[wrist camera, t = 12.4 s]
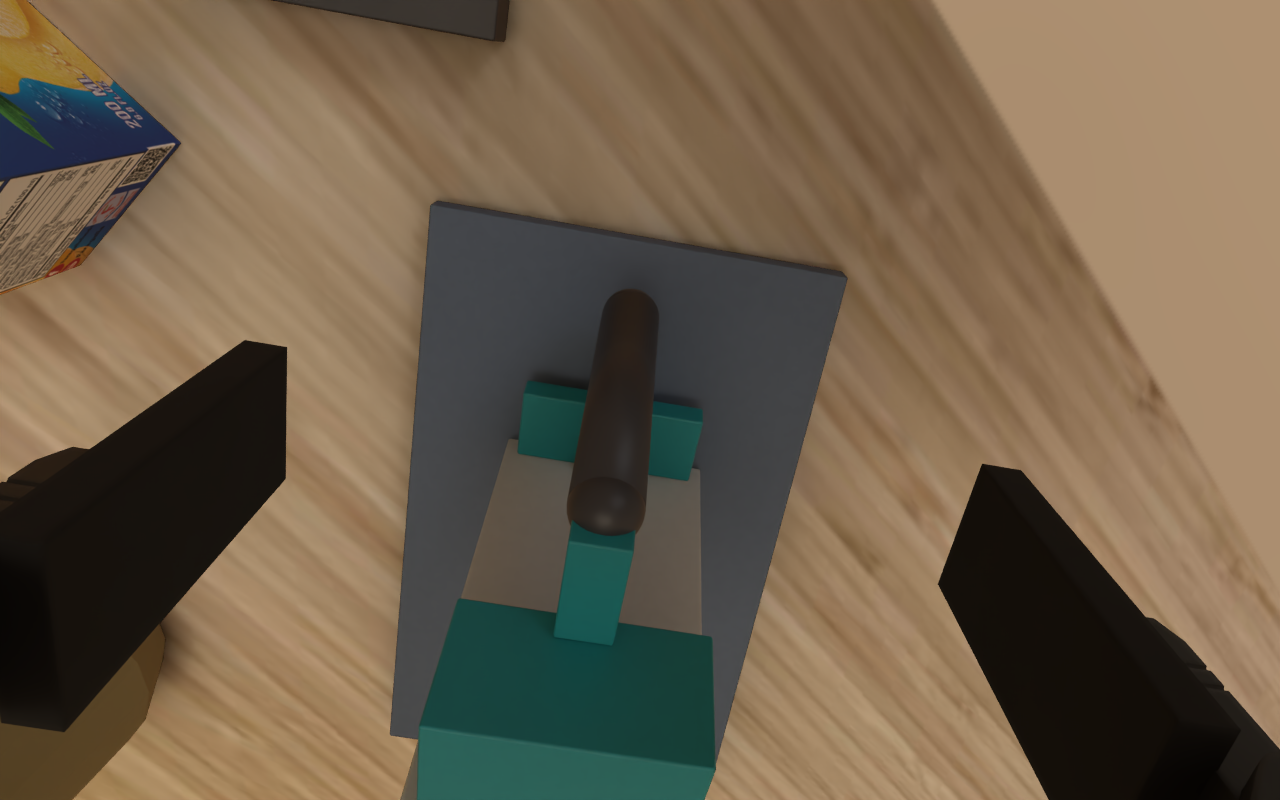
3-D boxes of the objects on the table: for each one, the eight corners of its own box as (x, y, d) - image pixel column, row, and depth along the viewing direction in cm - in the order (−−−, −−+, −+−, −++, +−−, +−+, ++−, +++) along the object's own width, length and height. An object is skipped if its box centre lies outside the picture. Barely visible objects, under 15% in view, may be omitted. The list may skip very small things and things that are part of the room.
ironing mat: (843, 271, 33) (848, 277, 32) (710, 766, 43) (711, 782, 42) (436, 200, 33) (429, 204, 32) (395, 721, 42) (389, 735, 41)
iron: (695, 879, 23) (787, 649, 17) (396, 838, 22) (395, 589, 17) (694, 490, 36) (747, 291, 31) (506, 460, 35) (526, 253, 30)
